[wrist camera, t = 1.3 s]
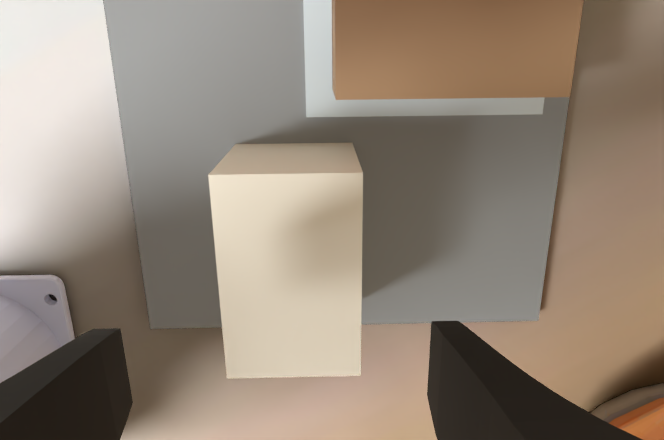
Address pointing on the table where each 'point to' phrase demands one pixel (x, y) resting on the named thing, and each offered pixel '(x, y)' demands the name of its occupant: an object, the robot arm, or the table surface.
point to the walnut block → (453, 48)
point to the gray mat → (328, 127)
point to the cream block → (289, 259)
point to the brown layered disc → (636, 412)
